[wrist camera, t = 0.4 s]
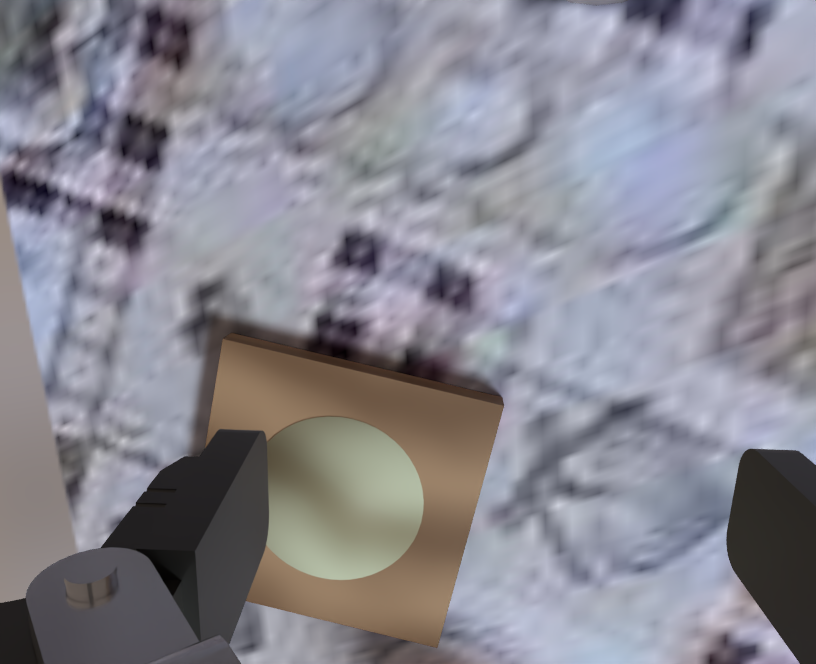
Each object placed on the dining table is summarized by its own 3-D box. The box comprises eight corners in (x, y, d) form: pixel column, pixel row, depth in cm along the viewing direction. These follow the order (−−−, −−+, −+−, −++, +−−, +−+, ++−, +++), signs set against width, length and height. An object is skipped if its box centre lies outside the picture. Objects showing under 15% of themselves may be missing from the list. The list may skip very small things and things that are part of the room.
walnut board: (231, 332, 32) (222, 339, 31) (502, 397, 32) (503, 406, 31) (191, 571, 35) (182, 585, 34) (437, 631, 35) (437, 648, 34)
